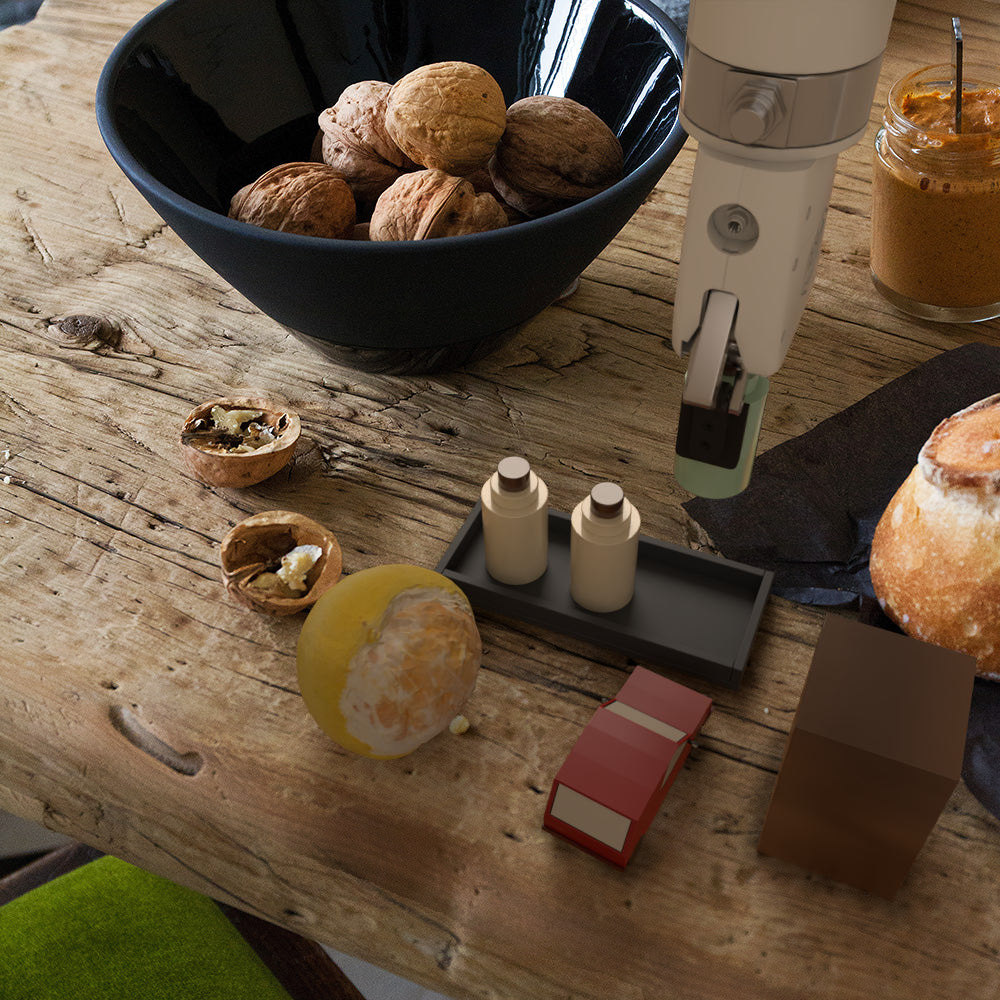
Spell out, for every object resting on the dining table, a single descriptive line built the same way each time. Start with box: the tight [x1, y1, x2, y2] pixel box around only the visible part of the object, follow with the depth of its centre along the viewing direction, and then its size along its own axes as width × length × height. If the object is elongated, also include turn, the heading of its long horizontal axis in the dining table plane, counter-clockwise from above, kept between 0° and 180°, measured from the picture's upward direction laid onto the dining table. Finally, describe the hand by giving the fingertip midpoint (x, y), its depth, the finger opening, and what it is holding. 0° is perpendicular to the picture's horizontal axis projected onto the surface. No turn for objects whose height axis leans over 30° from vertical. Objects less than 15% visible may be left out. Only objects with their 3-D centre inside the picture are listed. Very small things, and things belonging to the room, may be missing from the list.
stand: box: [755, 612, 978, 902], centre depth 51 cm, size 7×7×12 cm
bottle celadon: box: [672, 340, 771, 500], centre depth 53 cm, size 4×4×9 cm
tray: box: [433, 496, 776, 692], centre depth 66 cm, size 20×8×2 cm, turn 66°
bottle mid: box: [569, 481, 642, 613], centre depth 64 cm, size 4×4×9 cm
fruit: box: [295, 563, 483, 761], centre depth 58 cm, size 10×11×10 cm
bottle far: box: [480, 456, 549, 585], centre depth 65 cm, size 4×4×9 cm
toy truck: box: [541, 665, 716, 875], centre depth 56 cm, size 6×12×5 cm, turn 149°
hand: (719, 426), depth 54 cm, fingers closed on bottle celadon, 4 cm apart
